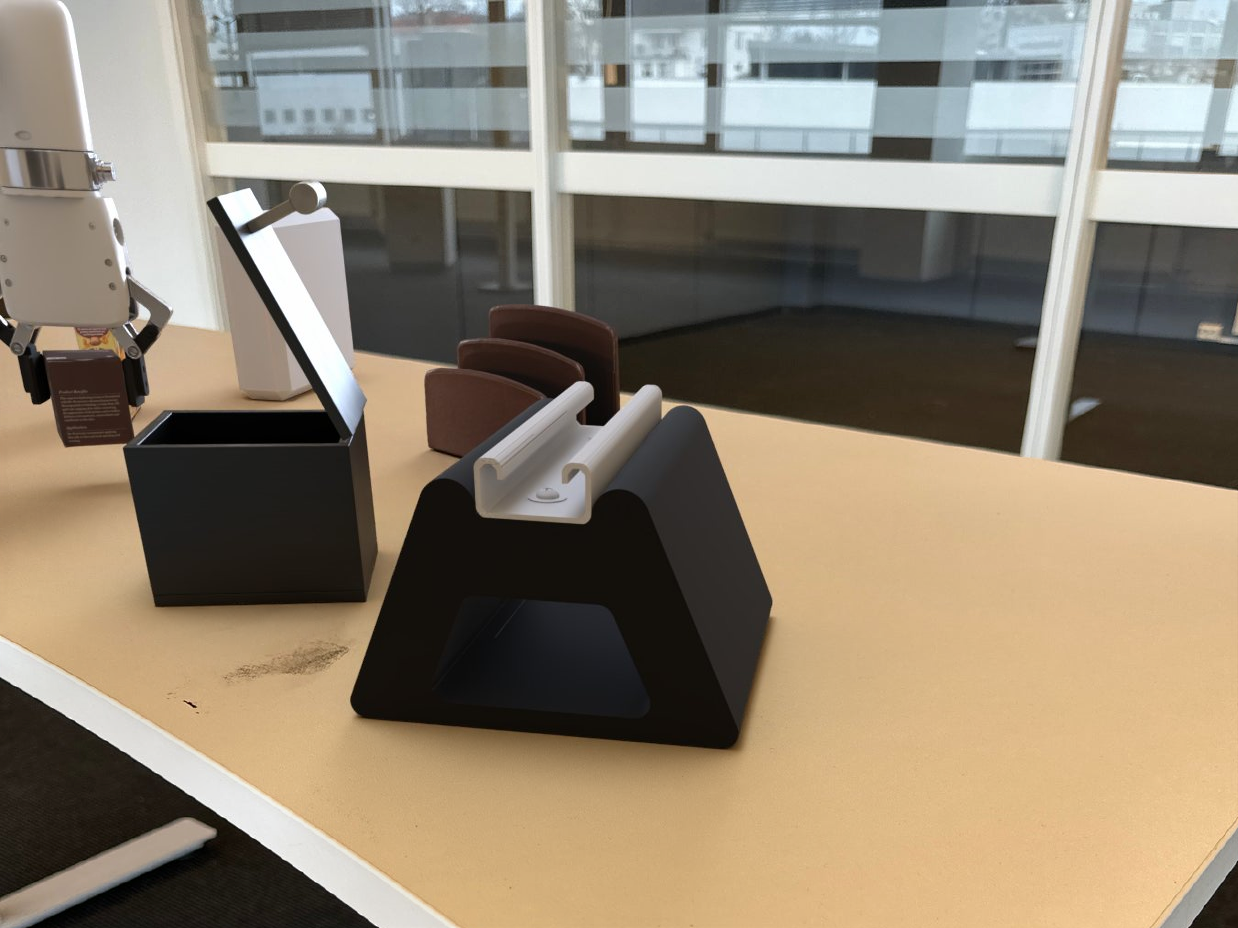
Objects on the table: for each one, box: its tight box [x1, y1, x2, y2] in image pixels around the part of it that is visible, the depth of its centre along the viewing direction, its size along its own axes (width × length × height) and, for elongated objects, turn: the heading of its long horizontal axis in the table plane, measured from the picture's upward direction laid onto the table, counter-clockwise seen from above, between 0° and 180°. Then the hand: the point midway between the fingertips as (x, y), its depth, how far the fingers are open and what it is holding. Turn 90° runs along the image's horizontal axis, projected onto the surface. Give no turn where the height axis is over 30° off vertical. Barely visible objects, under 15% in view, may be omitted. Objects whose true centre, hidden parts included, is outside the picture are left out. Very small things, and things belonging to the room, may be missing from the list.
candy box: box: [73, 327, 142, 419], centre depth 137 cm, size 9×4×15 cm, turn 13°
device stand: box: [349, 381, 774, 750], centre depth 75 cm, size 22×22×15 cm
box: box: [41, 349, 135, 449], centre depth 109 cm, size 6×6×7 cm
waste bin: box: [122, 408, 379, 607], centre depth 89 cm, size 15×13×11 cm
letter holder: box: [423, 303, 621, 458], centre depth 123 cm, size 10×20×14 cm, turn 45°
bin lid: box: [205, 179, 368, 440], centre depth 83 cm, size 15×13×6 cm
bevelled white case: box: [214, 207, 356, 402], centre depth 154 cm, size 21×8×20 cm, turn 169°
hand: (89, 401), depth 109 cm, fingers closed on box, 7 cm apart
